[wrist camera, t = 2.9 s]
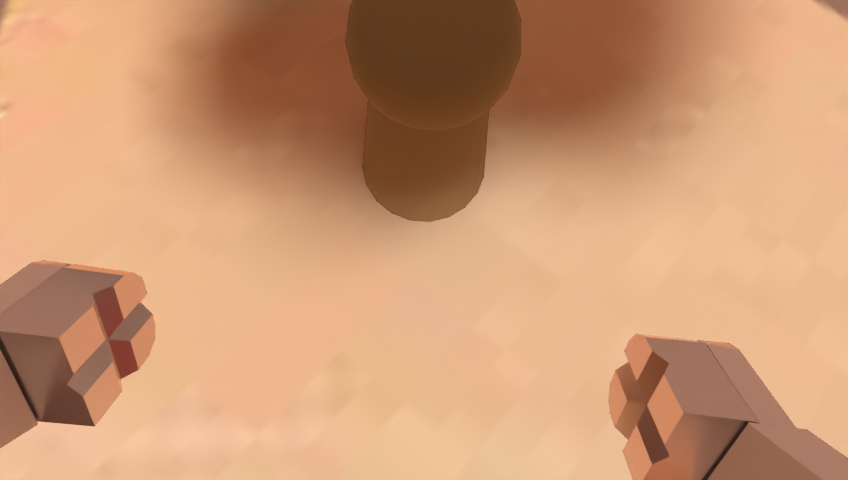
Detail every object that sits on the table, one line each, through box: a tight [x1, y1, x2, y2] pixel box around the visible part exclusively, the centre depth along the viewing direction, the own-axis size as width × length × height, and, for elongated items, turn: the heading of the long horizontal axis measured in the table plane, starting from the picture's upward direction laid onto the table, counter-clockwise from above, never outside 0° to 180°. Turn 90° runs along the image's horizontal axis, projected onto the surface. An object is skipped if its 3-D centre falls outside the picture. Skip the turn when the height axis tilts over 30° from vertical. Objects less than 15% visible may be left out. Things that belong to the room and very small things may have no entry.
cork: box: [345, 0, 521, 222], centre depth 18 cm, size 6×6×11 cm
